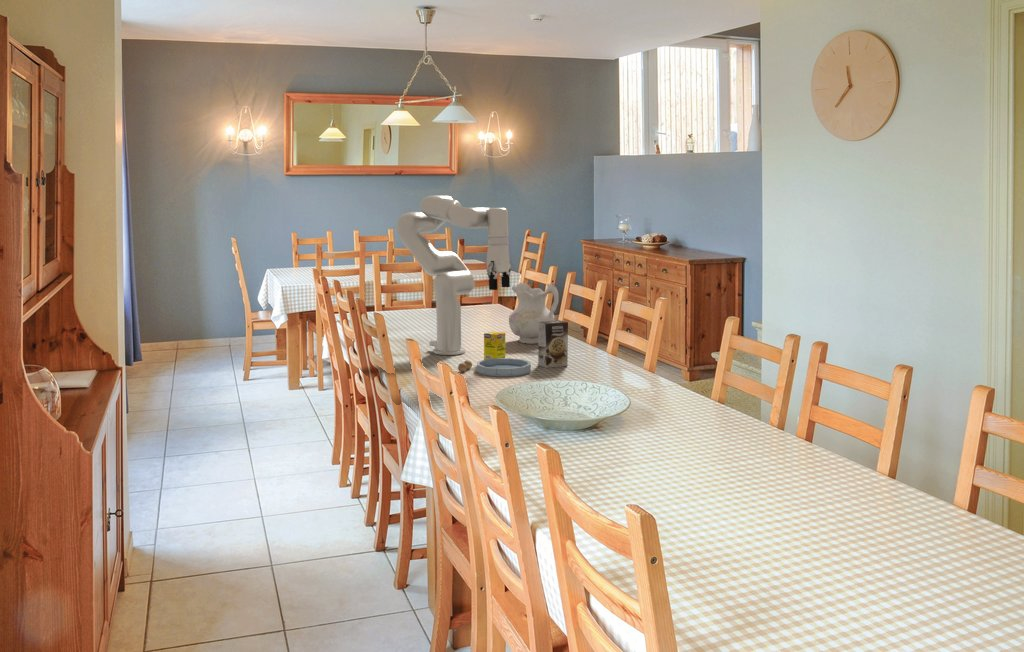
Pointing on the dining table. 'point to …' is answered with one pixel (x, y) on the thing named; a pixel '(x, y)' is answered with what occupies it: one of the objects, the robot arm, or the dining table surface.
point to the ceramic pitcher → (531, 311)
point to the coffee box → (553, 344)
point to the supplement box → (494, 345)
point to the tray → (503, 367)
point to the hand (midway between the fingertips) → (499, 288)
